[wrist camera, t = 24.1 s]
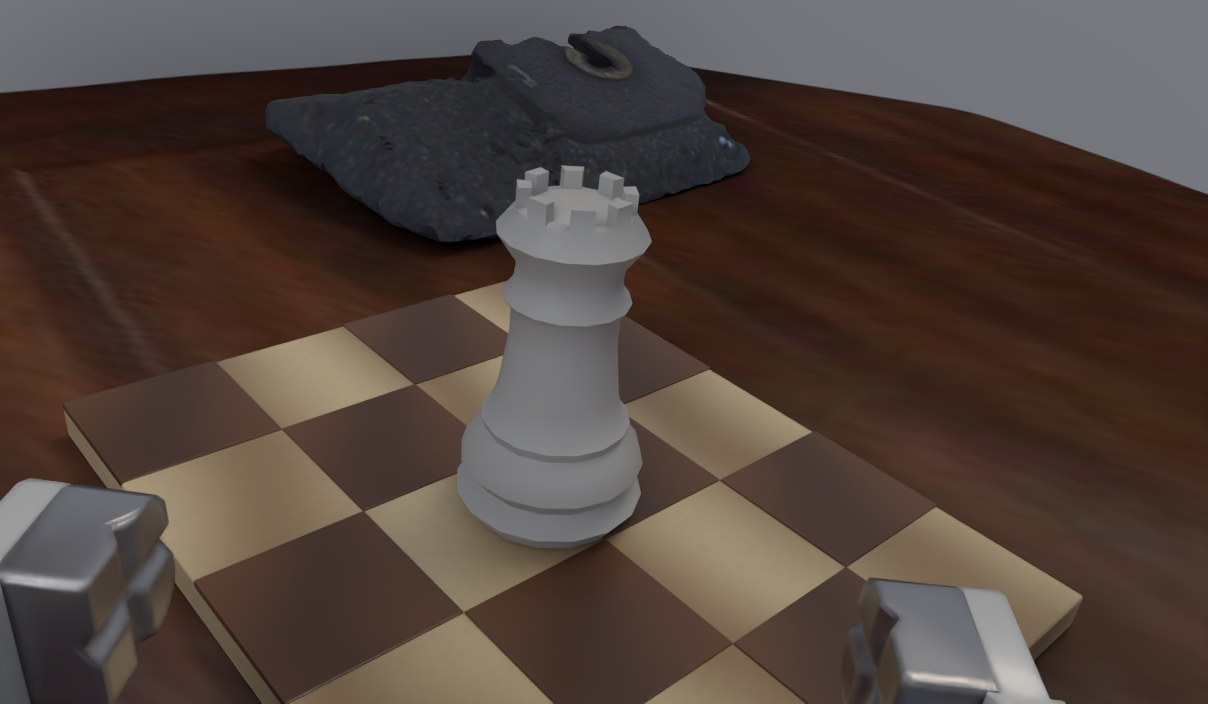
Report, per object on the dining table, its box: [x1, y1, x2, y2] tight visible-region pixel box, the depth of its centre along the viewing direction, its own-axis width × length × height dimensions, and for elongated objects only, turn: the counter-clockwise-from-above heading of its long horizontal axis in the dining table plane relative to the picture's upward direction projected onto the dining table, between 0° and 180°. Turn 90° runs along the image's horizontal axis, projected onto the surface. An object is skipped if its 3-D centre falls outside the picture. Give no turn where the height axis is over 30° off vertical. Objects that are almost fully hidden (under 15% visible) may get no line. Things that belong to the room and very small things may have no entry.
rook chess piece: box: [457, 165, 652, 549], centre depth 23 cm, size 4×4×8 cm
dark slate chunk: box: [266, 26, 750, 244], centre depth 47 cm, size 15×22×5 cm
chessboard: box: [62, 281, 1082, 704], centre depth 25 cm, size 16×20×1 cm
